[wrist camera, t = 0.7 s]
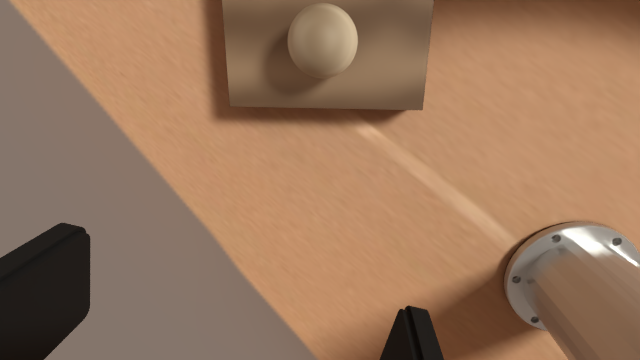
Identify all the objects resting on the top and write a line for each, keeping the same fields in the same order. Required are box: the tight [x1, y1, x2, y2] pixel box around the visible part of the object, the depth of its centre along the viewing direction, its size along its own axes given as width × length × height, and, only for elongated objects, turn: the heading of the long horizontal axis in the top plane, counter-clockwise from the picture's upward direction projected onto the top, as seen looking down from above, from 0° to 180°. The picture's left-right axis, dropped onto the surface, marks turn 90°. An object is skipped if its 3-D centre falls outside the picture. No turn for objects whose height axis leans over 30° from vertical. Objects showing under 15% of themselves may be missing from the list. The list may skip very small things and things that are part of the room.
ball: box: [288, 3, 358, 79], centre depth 25 cm, size 5×5×5 cm
